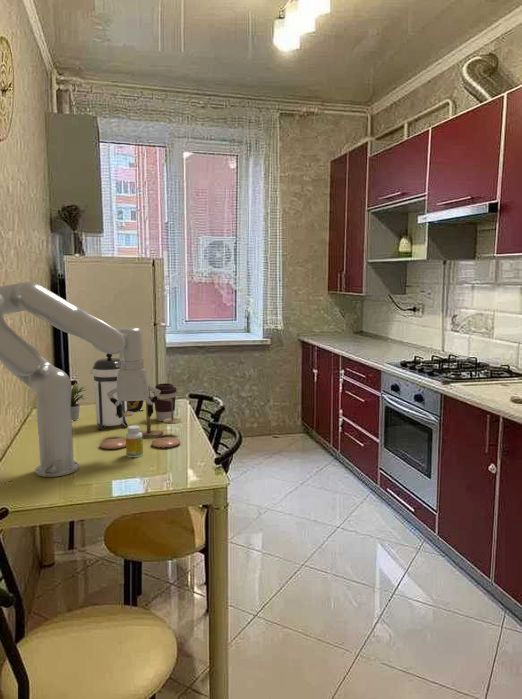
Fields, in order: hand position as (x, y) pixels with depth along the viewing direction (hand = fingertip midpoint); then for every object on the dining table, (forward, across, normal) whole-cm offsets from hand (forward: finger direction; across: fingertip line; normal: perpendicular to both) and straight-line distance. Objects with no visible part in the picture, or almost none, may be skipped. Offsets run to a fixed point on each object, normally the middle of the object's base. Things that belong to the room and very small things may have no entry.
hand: (135, 416), depth 174 cm
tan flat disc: (+14, +8, +10) cm, 19 cm away
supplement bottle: (+13, -1, -1) cm, 13 cm away
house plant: (+13, -36, +48) cm, 62 cm away
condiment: (+14, -14, +65) cm, 68 cm away
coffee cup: (+14, +3, +46) cm, 49 cm away
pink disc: (+13, -10, +10) cm, 19 cm away
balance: (+13, 0, +22) cm, 26 cm away
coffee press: (+14, -16, +38) cm, 44 cm away
